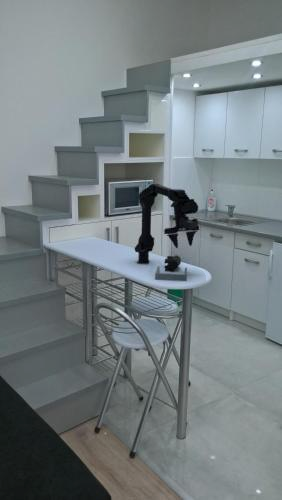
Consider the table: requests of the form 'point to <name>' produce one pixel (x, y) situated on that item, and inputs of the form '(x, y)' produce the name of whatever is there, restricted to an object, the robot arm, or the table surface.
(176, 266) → the end cap
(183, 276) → the bay
